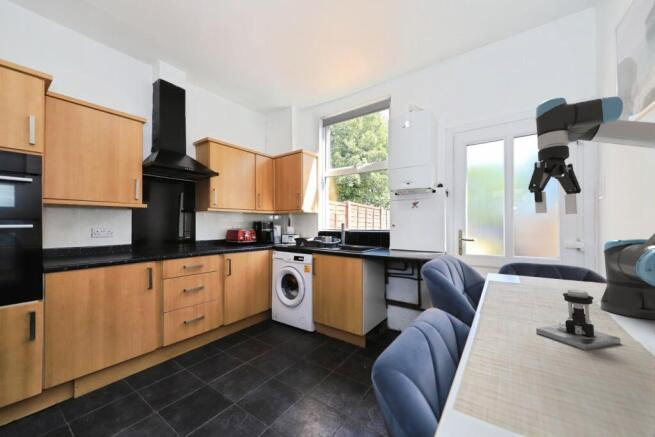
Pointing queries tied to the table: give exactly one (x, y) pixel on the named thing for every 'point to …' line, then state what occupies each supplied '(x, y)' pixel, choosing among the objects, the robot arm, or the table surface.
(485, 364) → the table surface
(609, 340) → the flange plate
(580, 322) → the push button
